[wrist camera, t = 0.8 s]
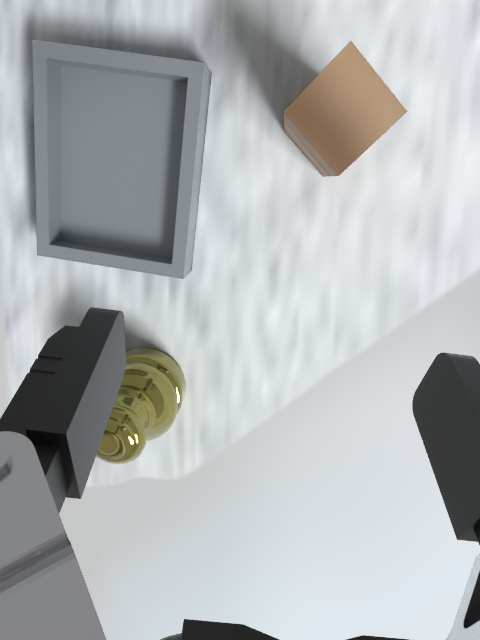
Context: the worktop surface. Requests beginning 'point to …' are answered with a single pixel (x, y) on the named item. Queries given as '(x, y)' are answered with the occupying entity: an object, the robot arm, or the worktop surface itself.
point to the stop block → (341, 113)
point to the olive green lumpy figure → (142, 405)
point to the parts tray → (118, 156)
